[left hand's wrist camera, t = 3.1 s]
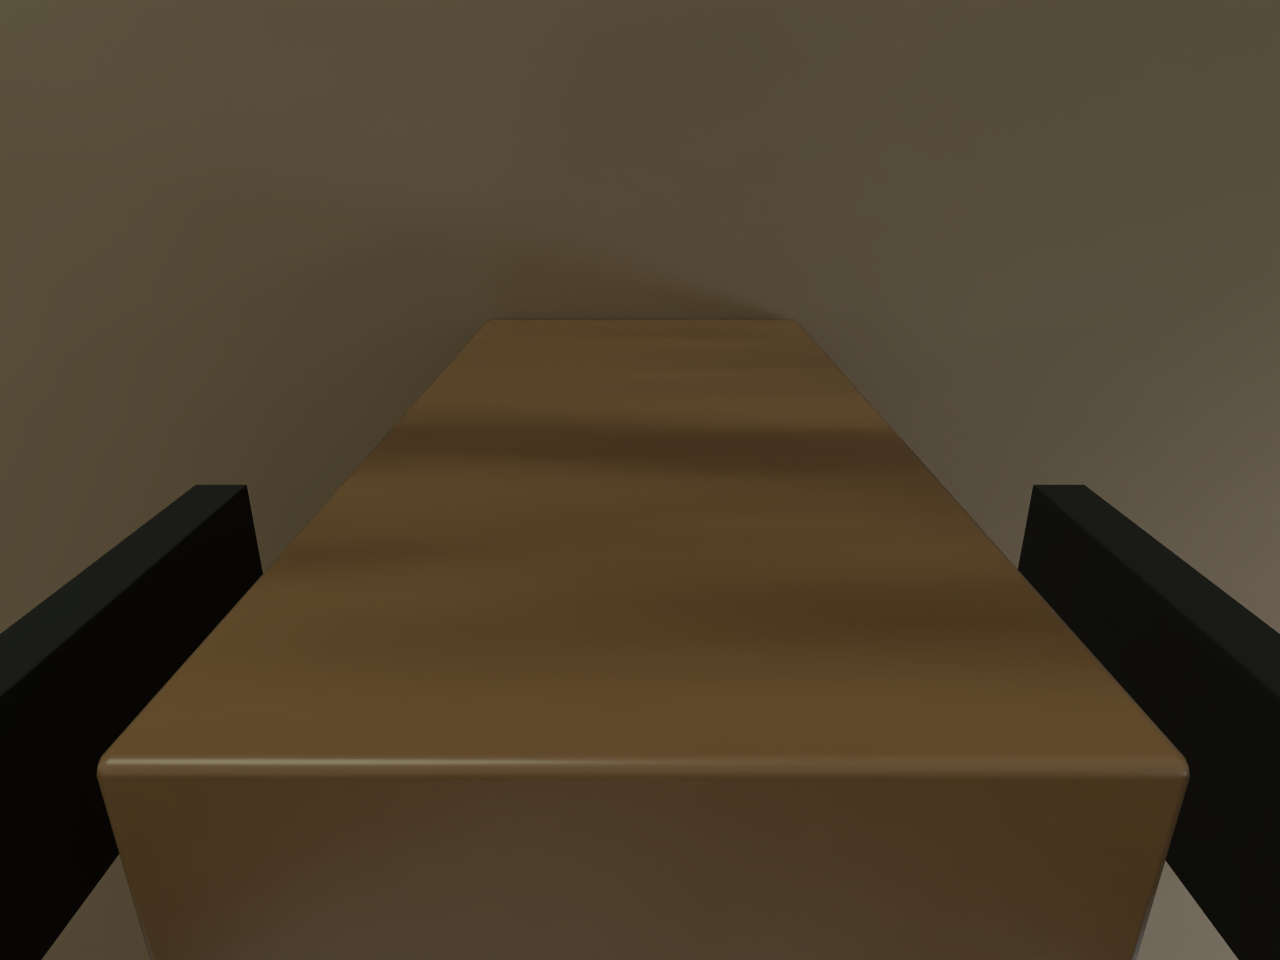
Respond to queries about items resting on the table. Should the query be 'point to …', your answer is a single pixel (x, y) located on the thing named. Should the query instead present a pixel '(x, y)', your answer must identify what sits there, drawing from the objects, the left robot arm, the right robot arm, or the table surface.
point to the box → (642, 693)
